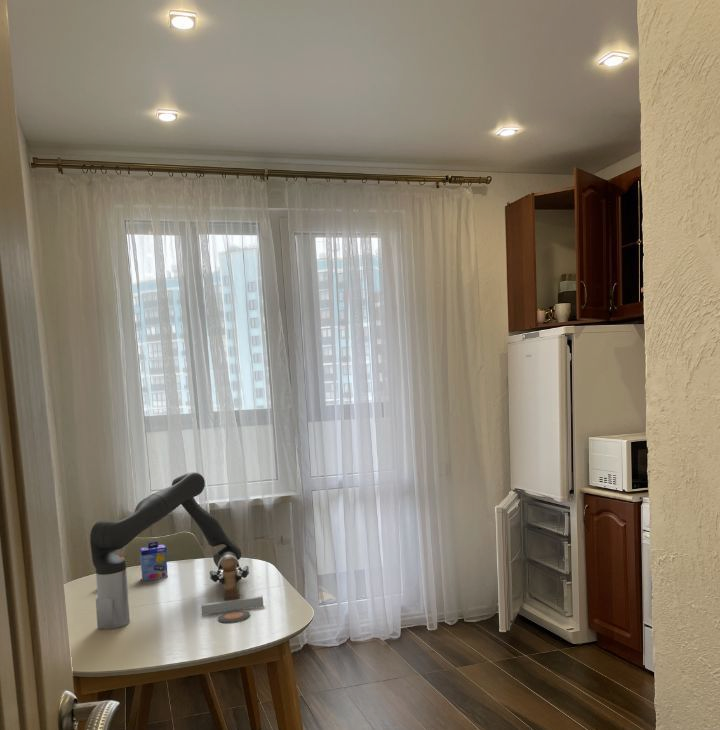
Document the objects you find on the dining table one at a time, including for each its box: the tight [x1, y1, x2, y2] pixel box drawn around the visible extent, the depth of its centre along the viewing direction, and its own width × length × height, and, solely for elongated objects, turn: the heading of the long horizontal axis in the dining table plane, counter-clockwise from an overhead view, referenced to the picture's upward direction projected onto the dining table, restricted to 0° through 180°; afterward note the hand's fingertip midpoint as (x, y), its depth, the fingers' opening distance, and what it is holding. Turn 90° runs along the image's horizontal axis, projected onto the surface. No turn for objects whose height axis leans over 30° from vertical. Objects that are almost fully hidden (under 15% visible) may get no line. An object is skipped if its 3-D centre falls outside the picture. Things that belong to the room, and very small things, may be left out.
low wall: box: [200, 595, 264, 616], centre depth 222 cm, size 20×2×3 cm, turn 103°
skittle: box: [221, 556, 240, 601], centre depth 230 cm, size 5×5×16 cm
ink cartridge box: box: [139, 540, 169, 582], centre depth 269 cm, size 10×6×14 cm, turn 115°
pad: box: [217, 609, 250, 624], centre depth 215 cm, size 10×10×1 cm
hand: (230, 579), depth 227 cm, fingers closed on skittle, 4 cm apart
